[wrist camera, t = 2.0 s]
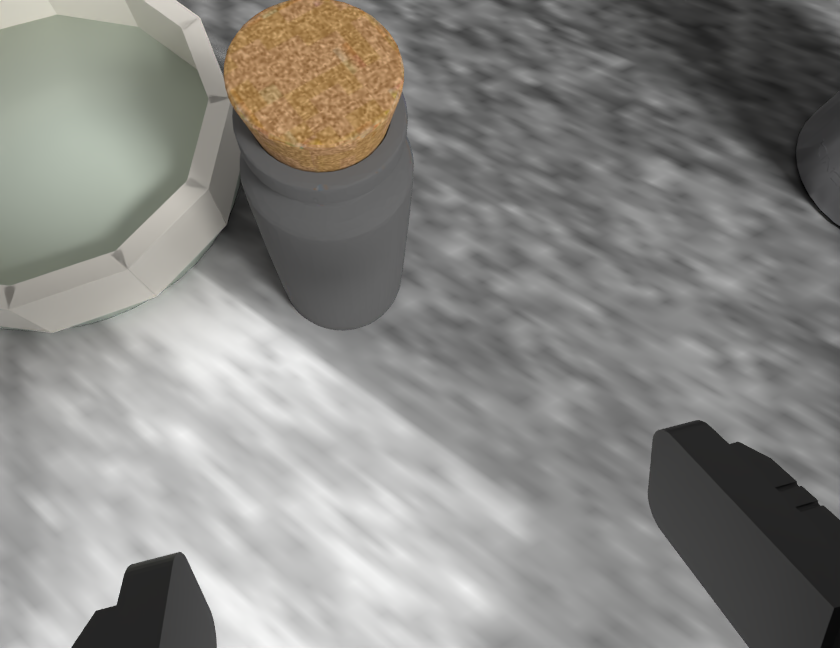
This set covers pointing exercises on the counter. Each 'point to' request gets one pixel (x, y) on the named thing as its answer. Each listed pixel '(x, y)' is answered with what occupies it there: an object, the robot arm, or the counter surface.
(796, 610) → the robot arm
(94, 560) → the counter surface
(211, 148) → the dish
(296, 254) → the bottle
